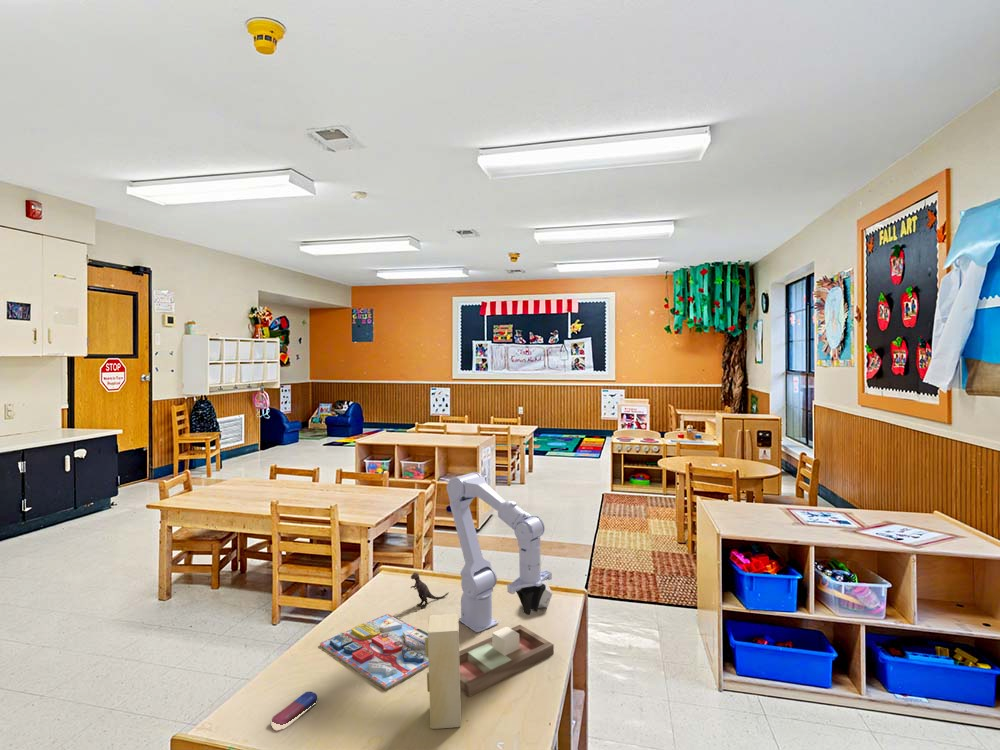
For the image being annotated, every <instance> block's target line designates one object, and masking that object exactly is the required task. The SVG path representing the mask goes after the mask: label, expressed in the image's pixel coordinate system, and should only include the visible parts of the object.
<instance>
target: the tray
mask: <svg viewBox="0 0 1000 750" xmlns="http://www.w3.org/2000/svg"><path fill="white" fill-rule="evenodd" d="M511 629H512V630H514V631H515V632H517V633H519V649H518V650H516V651H514V652H512V653H510V654H508V655H506V656H504V655H503V654H501V653H500V652H498V651H497V650H495V649H494V648H493V641H492V636H490V637H488V638H487V639H484V640H482V641H479V642H477V643H475V644H472V645H469V646H468V647H466V648H463V649H462V650H461V649H460V650H459V661H460V692H463V693H464V694H465V695H466V696H467V697H468V698H470V697H472V696H474V695H476V694H478V693H479V692H482V691H483V690H485V689H487V688H489V687H492V686H493V685H495V684H497V683H499V682H501V681H503V680H505V679H507V678H509V677H510V676H513V675H515V674H517V673H519V672H520V671H521V672H522V671H523V670H525V669H527V668H528V667H531V666H532V665H534V664H536V663H538V662H540V661H542V660H544V659H546V658H548V657H550V656H553V654H554V649H555V645H554V643H552V642H551V641H549V640H546V639H545V638H543V637H542V636H540V635H539V634H536V633H535V632H534V631H531V630H530V629H528V628H527V627H525V626H523V625H521V624H519V625H516V626H513V627H512V628H511Z"/></svg>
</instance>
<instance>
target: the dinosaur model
mask: <svg viewBox="0 0 1000 750" xmlns="http://www.w3.org/2000/svg"><path fill="white" fill-rule="evenodd" d="M410 579H411V580H414V581H415V582H414V585H412V586H410V589H412V588H414V590H417V591H416V592H417V593H418V597H419V599H420V600H421V601H420V602H419V603H416V607H420V609H421V610H422V609H423V610H424V609H426V607H427V606H428V604H429V602H428V599H432V600H441V599H444V598H445V597H447V595H449V594H450V592H447V593H445V594H444V595H443V596H435V595H433V594H432V593H431V591H430V589H429V587H428V585H427V584H426V583H425V582H423V581H422V580H421V579H420V575H419V573H418V572H413V573H412V575H410Z"/></svg>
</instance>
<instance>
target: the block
mask: <svg viewBox="0 0 1000 750" xmlns="http://www.w3.org/2000/svg"><path fill="white" fill-rule="evenodd" d="M491 637H492V641H493V648H494V649H495V650H497V651H498V652H500V653H501V654H503V655H504V656H506V655H508V654H510V653H512V652H514V651H516V650H518V649H519V633H517V632H515V631H514V630H512V629H511V628H510V627H509V626H504V627H502V628H499V629H497V630H496V631H493V632H492V636H491Z"/></svg>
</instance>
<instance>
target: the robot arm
mask: <svg viewBox="0 0 1000 750" xmlns="http://www.w3.org/2000/svg"><path fill="white" fill-rule="evenodd" d="M446 492H447V495H448V496H447V497H448V500H449V506H450V510H451V514H452V519H453V522H454V525H455V529H456V532H457V533H456V534H457V538H458V540H459V545H460V548H461V552H462V555H463V556H462V557H463V558H464V563H465V564H464V566H463V567H462V570H461V571H460V577H461V583H460V584H461V585H460V586H461V590H462V595H461V597H460V618H459V617H458V622H461V623H462V624H463V625H465V626H466V627H468V628H469V629H471V630H472V631H474V632H475V633H481V632H482V631H485V630H487V629H489V628H492V627H494V626H496V625H498V624H499V621H497V620H496V619H494V618H493V602H492V599H493V598H492V597H493V595H492V593H493V592H494V588H495V587H496V585H497V583H498V577H497V574H496V572H495V570H494V569H493V567H492V564H491V561H489V560H487V558H486V559H485V558H484V556H483V553H482V549H481V544H480V543H479V542H480V541H479V538H478V537H479V536H478V534H477V531H476V527H475V523H474V519H473V516H472V512H471V508H470V505H471V504H472V501H473V500H474V499H475V498H479V499H480V500H482V502H485V504H487V505H488V506H490V507H491V508H493V509H495V511H497V517H498V518H499V519H500V520H501V521H503V522H504V523H505V524H506V525H507V526H508V527H510V528H511V529H512V530H514V535H515V538H516V539H517V546H518V547H519V549H518V550H519V551H518V553H519V555H518V557H519V577H517V578H516V579H515V580H513V581H512V582H511V583H508V584H507V593H509V594H511V595H514V594H515V593H516V594H517V597H518V599H519V602H520V603H521V608H522V612H523V613H524V614H526V615H527V616H531V613H532V611H533V612H536V613H537V612H538V610H539V608H538V607H539V603H540V599H541V597H542V594H543V592H544V591H545V589H546V585H545V584H542V582H543V581H545V580H548V581H551V580H552V579H553V578H552V577H553V572H552V571H550V570H544V571H541V570H542V569H541V566H542V565H541V564H542V563H541V562H542V561H541V557H542V556H541V555H542V554H541V536H543V535H544V532H545V524H544V522H543V519H541V518H540V517H539V516H538V515H535V514H534V515H531V514H529V513H528V512H526V511H524V509H522V508H521V507H520V506H519V505H517V502H515V501H512V500H507V501H506V500H504V498H503V497H502V496H500V495H499V494H498V493H497V491H495V490H494V489H493V488H492V487H490V485H489V484H488V483H487V482H486V477H484V476H483V475H481V474H480V473H479V472H477V471H473V472H472V471H471V472H470V473H466V474H463V475H459V476H458V475H457V476H453V477H451V478H450V479H449V481H448V482H447V485H446Z"/></svg>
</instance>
